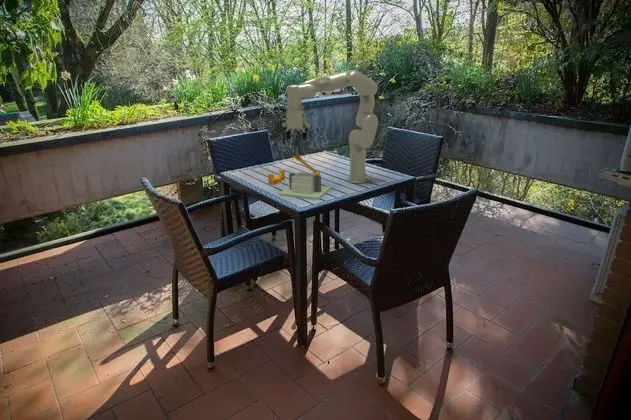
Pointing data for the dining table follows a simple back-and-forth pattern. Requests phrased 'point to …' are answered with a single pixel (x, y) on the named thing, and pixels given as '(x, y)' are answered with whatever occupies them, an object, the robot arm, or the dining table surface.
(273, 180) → the pipe clamp
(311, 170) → the strap
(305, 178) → the board
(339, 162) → the dining table surface
